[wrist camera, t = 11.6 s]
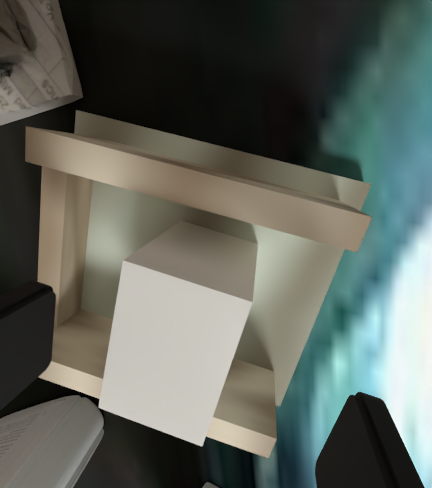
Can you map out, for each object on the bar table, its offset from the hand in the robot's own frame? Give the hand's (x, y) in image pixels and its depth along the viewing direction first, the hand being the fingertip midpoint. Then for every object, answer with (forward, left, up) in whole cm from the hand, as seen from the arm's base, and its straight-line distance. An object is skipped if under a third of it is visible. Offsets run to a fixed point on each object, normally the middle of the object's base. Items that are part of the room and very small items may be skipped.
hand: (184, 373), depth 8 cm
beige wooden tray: (+2, 0, -7) cm, 8 cm away
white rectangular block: (+1, 0, -7) cm, 6 cm away
